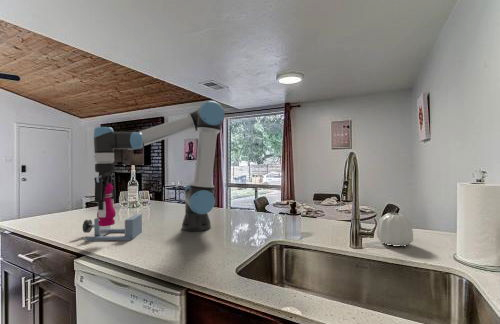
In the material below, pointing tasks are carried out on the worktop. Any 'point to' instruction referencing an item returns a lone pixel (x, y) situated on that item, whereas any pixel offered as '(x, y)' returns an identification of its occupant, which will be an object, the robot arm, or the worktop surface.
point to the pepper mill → (108, 208)
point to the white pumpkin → (395, 229)
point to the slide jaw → (95, 228)
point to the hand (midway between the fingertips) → (106, 215)
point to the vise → (124, 230)
